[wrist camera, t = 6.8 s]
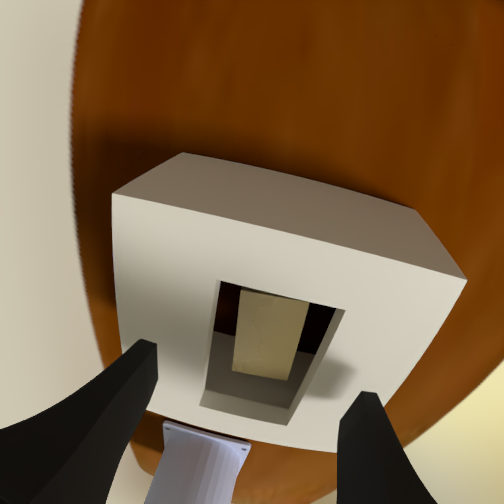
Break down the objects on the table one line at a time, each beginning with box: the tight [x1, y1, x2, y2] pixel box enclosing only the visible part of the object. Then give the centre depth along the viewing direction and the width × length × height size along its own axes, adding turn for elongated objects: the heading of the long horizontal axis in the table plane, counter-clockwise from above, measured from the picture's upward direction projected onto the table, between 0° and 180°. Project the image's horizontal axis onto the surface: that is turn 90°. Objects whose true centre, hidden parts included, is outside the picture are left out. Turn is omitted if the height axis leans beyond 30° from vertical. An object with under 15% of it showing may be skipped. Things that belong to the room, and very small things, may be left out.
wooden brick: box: [232, 286, 310, 381], centre depth 14 cm, size 4×2×4 cm, turn 174°
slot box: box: [112, 152, 467, 453], centre depth 14 cm, size 11×11×6 cm
